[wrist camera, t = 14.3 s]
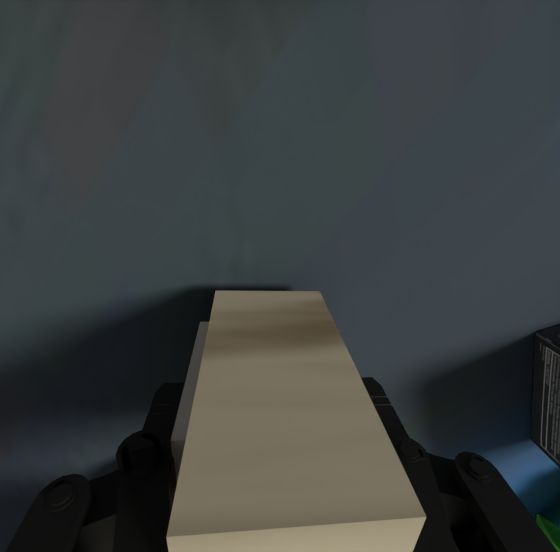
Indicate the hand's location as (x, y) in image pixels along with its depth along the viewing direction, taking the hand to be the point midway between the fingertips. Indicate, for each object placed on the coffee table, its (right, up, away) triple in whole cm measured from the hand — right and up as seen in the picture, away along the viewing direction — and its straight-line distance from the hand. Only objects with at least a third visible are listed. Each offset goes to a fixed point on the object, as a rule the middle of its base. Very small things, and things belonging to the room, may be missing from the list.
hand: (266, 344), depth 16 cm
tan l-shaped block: (0, -7, +3) cm, 8 cm away
